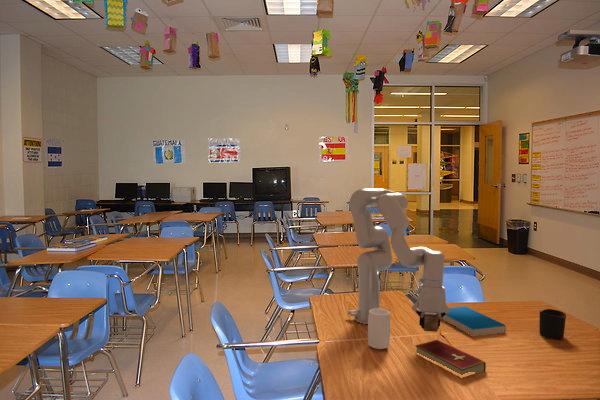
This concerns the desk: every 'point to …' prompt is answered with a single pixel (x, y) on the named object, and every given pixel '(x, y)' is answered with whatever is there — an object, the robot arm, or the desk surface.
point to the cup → (379, 328)
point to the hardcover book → (451, 357)
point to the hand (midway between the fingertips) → (429, 326)
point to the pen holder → (552, 324)
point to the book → (473, 321)
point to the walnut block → (430, 322)
